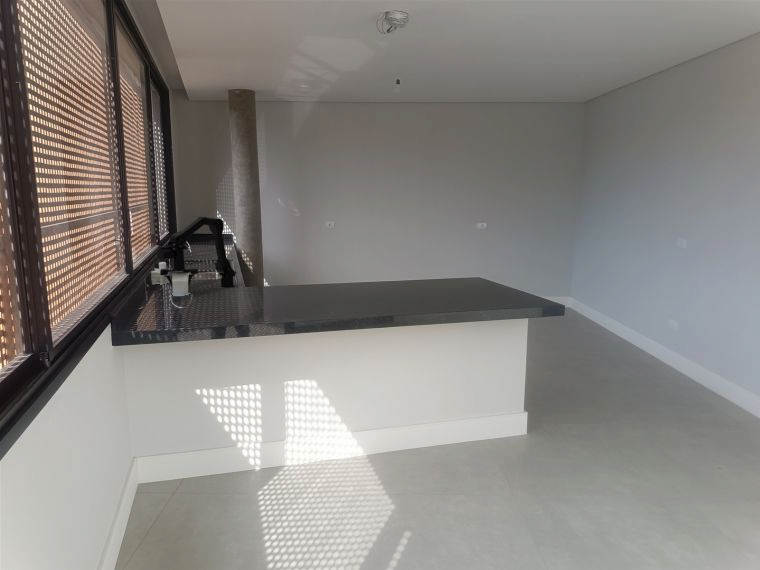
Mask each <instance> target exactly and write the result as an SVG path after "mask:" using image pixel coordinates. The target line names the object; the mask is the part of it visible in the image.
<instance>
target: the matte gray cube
mask: <svg viewBox="0 0 760 570" xmlns="http://www.w3.org/2000/svg"><path fill="white" fill-rule="evenodd" d="M171 279H172V286H173V288H172V293H173V294H186V293H188V292H189V287H188V279H189V273H172V275H171Z"/></svg>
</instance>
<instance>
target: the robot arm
mask: <svg viewBox="0 0 760 570" xmlns="http://www.w3.org/2000/svg"><path fill="white" fill-rule="evenodd" d="M203 226H208V228H209V231H210V232H211V234H212V235H213V241H214V247H215V250H216V255H217V257H216V258H217V260H216V262H214V267H215V270H216V271H217V272H218V275H219V276H221V278H220V286H221V288H230V287H231V288H233V287H235V285H234V277H236V271H235V270H234V269H233V268H232V265H231V262H230V260H229V259H228V258H227V253H226V247H225V242H224V237H223V231H224V229H225V226H224V220H223V219H221V218H216V217H212V218H211V217H206V216H199V217H197V219H195V220H194V221H193V222H192V223H190V224H189V225H188V226H186V227H185V228H184V229H182V230H180V231H177V232H175V233H173V234H171V235H170V236H169V240H168V242H167V243H166V245H165V246H159V248H158V250H157V253H156V255H157V259H158V260H159V261H164V260H165V261H168V260H172V261H171V262H170V268H171V269H169V268H168V267H166V269H161V270H160V275H164V277H167V279H168V281H169V282H170V283H169V284H170V287H171V288H172V289H173V286H172V275H171V274H173V273H188V288H190V284H191V281H192V278H193V276H195V275H198V274H199V269H198V267H196V266H195V267H194V266H193V267H190V268H187V269H186V261H185V260H186V259H185V250H188V249H189V248H188V247H187V246H186V245H185V244H186V242H188V240H189V238H190V236H192V235H193V234H195V233H196V232H197V231H198V230H199V229H201V228H202V227H203Z"/></svg>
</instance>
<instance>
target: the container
mask: <svg viewBox="0 0 760 570" xmlns="http://www.w3.org/2000/svg"><path fill="white" fill-rule="evenodd" d="M153 266H154V270H151V272H150V278H151V284H152V285H155V284H160V285H159V286H164V285H163V284H165V285H168V284H167V283H169V284H170V282H169V281H168V279H167V277H164V275H160V270H161V269H166V268H167V262H165V261H156V262H154V263H153Z"/></svg>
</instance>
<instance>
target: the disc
mask: <svg viewBox="0 0 760 570" xmlns="http://www.w3.org/2000/svg"><path fill="white" fill-rule="evenodd" d="M171 294H172V295H173V296H172V295H171V296H172V297H185V295H186V296H189V294H190V295H191V292H190V291H188V293H186V294H173V292H172V293H171Z"/></svg>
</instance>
